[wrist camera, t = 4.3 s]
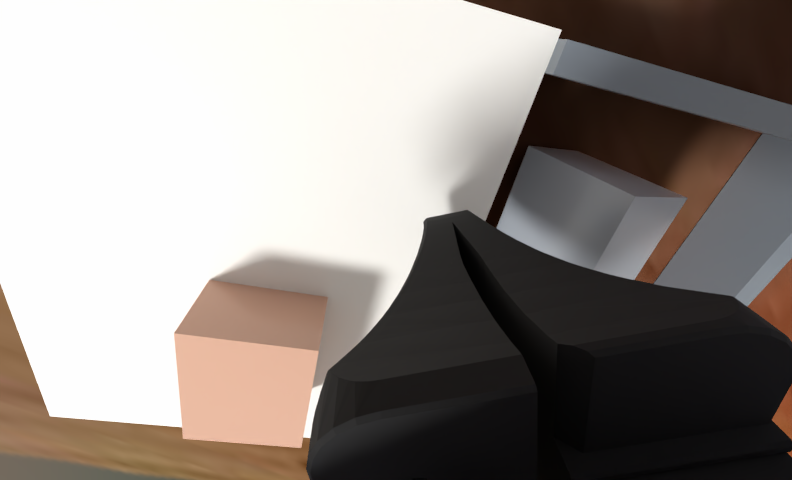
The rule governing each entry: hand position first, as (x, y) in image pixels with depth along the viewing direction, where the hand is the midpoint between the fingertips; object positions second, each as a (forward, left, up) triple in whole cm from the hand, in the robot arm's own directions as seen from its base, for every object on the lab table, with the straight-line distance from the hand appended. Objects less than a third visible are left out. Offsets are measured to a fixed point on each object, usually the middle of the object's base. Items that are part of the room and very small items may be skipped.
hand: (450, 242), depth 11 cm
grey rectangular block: (-3, 0, -1) cm, 3 cm away
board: (+6, +3, -3) cm, 8 cm away
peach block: (+5, +6, -1) cm, 8 cm away
